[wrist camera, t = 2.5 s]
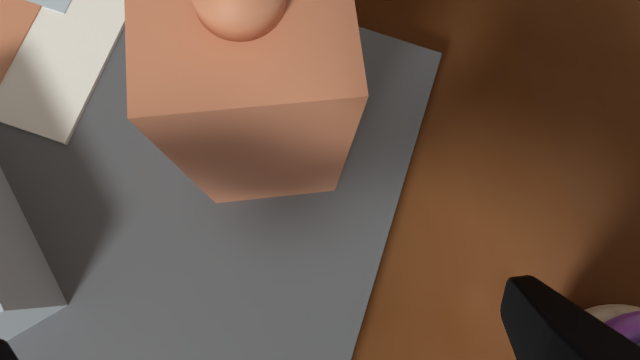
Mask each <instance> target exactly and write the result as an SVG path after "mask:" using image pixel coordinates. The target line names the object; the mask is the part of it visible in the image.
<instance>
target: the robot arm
mask: <svg viewBox="0 0 640 360" xmlns="http://www.w3.org/2000/svg"><path fill="white" fill-rule="evenodd" d="M500 312H501V318H502V321H503V324H504V327H505V329H506V332H507V335H508V337H509V340H510V343H511V346H512V348H513V351H514V354H515V356H516V359H517V360H640V346H639V345H637V344H636V343H634V342H633V341H631V340H630V339H628V338H627V337H625V336H624V335H622V334H621V333H619V332H618V331H616V330H614V329H613V328H611V327H610V326H608V325H607V324H605V323H604V322H602V321H601V320H599V319H598V318H596V317H595V316H593V315H592V314H590V313H589V312H587V311H585V310H584V309H582V308H581V307H579V306H578V305H576V304H575V303H573V302H572V301H570V300H569V299H567V298H566V297H564V296H563V295H561V294H560V293H558V292H556V291H555V290H553V289H552V288H550V287H549V286H547V285H546V284H544V283H543V282H541V281H540V280H538V279H537V278H535V277H533V276H530V275H524V276H516V277H511V278H509V279H508V280H507V282H506V286H505V290H504V294H503V299H502V303H501V310H500ZM0 360H19V359H18V358H17V356H16V354H15V353H14V351H13V350H12V348H11V347H10V345H9V343H8V342H7V341H5V340H3V339H0Z"/></svg>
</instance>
